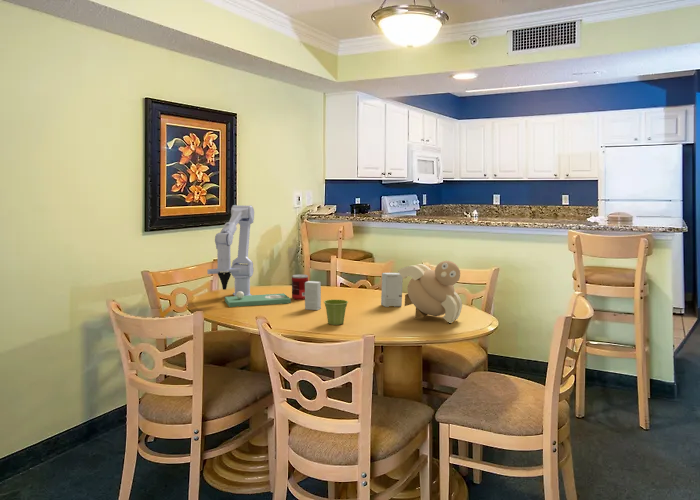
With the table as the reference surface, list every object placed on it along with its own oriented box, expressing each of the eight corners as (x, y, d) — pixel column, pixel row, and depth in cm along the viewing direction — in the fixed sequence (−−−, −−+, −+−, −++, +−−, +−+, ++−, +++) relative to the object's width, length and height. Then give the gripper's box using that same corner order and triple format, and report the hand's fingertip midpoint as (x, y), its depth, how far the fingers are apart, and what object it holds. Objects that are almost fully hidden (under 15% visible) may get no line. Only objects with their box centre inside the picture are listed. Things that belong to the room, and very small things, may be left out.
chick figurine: (420, 239, 214) (443, 235, 233) (377, 288, 226) (403, 280, 245) (475, 296, 204) (494, 287, 223) (426, 344, 216) (449, 332, 235)
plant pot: (323, 320, 221) (323, 299, 220) (346, 320, 221) (347, 299, 220) (324, 326, 211) (324, 304, 210) (348, 326, 212) (348, 303, 211)
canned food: (309, 296, 269) (309, 274, 268) (306, 300, 261) (306, 277, 260) (293, 296, 270) (293, 274, 269) (290, 299, 262) (290, 276, 261)
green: (224, 301, 257) (224, 296, 257) (283, 297, 267) (283, 293, 267) (229, 307, 244) (229, 302, 244) (290, 303, 254) (290, 298, 254)
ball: (235, 298, 254) (235, 290, 253) (243, 297, 255) (243, 290, 254) (236, 299, 250) (236, 292, 250) (244, 299, 252) (244, 291, 251)
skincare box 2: (385, 307, 247) (385, 274, 245) (380, 304, 252) (381, 272, 251) (402, 306, 249) (403, 273, 248) (397, 303, 255) (398, 271, 253)
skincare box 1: (321, 308, 243) (321, 281, 242) (317, 310, 239) (317, 283, 238) (308, 307, 245) (308, 280, 244) (304, 309, 241) (304, 282, 240)
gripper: (208, 260, 242) (208, 291, 243) (241, 259, 247) (242, 289, 248) (206, 259, 248) (207, 288, 250) (239, 258, 253) (239, 287, 255)
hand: (224, 289), depth 250 cm, fingers closed
